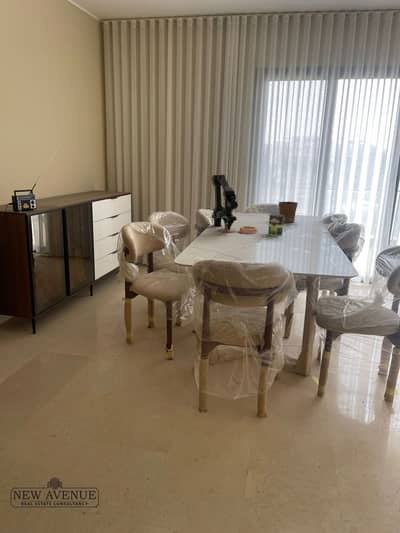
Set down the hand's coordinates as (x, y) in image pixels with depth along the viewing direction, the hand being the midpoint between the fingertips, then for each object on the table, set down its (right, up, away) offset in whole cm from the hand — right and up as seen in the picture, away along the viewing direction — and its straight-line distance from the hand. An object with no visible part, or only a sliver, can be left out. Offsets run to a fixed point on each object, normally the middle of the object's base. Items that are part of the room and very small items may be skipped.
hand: (227, 228), depth 287 cm
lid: (0, -2, +1) cm, 2 cm away
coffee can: (+34, -5, -6) cm, 35 cm away
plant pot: (+53, +10, +44) cm, 70 cm away
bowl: (+15, -3, -1) cm, 16 cm away
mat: (0, -2, +1) cm, 2 cm away
